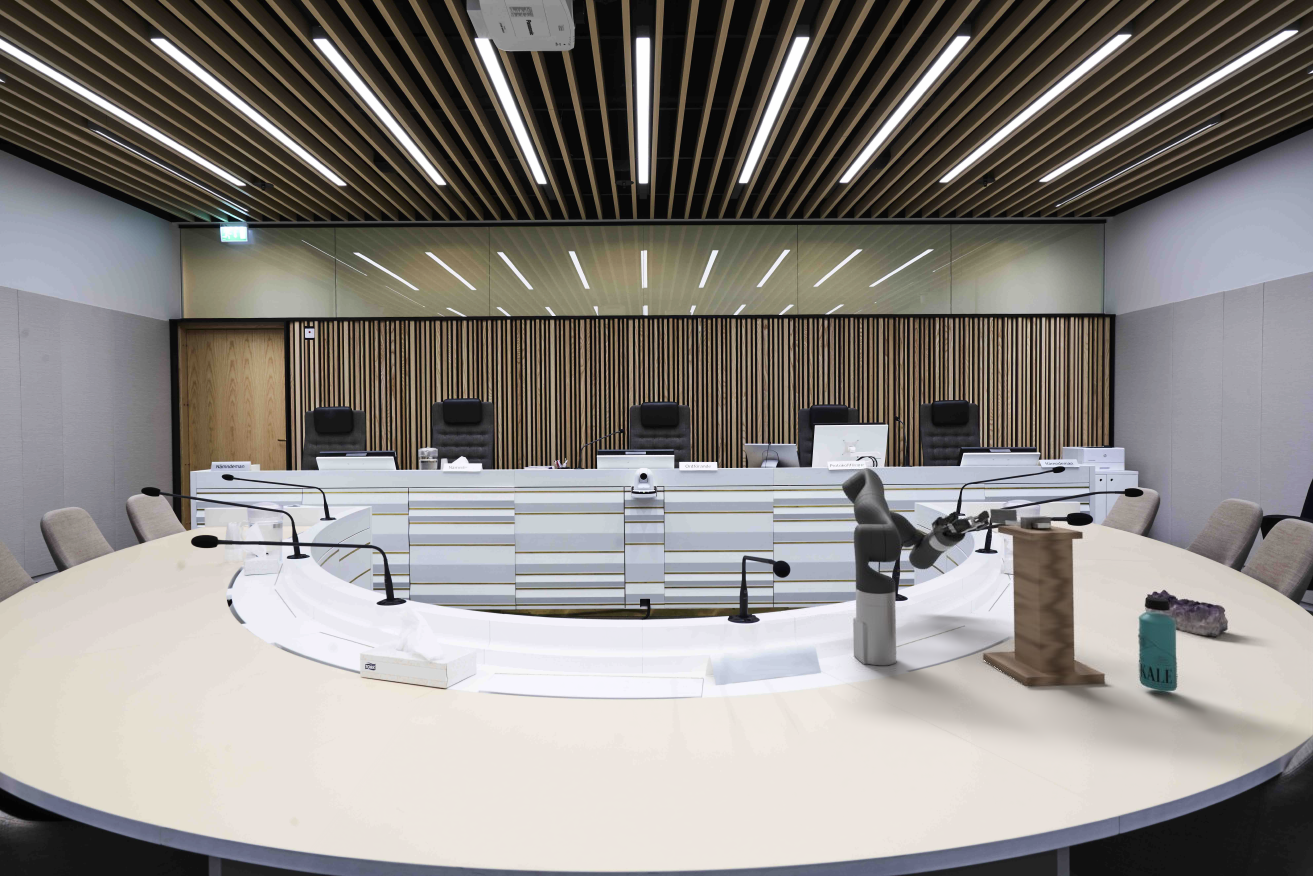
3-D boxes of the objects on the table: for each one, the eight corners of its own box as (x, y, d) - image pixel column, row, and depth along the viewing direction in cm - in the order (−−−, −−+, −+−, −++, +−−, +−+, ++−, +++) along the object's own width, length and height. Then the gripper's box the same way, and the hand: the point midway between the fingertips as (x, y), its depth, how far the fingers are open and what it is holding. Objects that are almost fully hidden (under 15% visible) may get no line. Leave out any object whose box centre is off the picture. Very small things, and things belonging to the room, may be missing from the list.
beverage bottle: (1163, 686, 136) (1162, 594, 136) (1186, 699, 130) (1184, 602, 130) (1131, 686, 137) (1130, 593, 137) (1152, 698, 130) (1150, 601, 130)
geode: (1130, 620, 185) (1131, 586, 186) (1157, 621, 189) (1159, 588, 190) (1209, 638, 166) (1211, 599, 167) (1238, 639, 169) (1239, 601, 170)
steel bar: (1038, 527, 144) (1037, 512, 144) (991, 522, 162) (990, 509, 162) (1050, 527, 144) (1049, 512, 145) (1002, 522, 162) (1001, 508, 162)
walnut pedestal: (1026, 686, 138) (1023, 523, 138) (983, 660, 153) (980, 514, 154) (1104, 683, 139) (1102, 521, 139) (1053, 658, 155) (1051, 512, 155)
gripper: (919, 523, 189) (943, 502, 175) (965, 522, 190) (993, 501, 176) (925, 547, 186) (950, 527, 172) (972, 546, 186) (1001, 526, 172)
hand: (972, 514), depth 174 cm, fingers open, 8 cm apart
